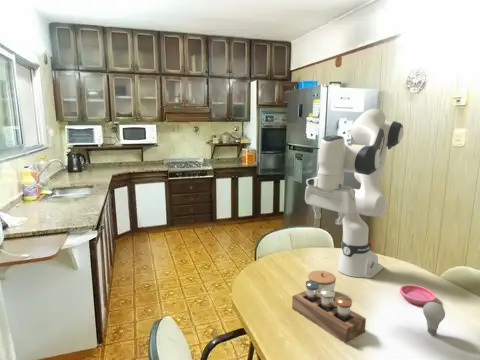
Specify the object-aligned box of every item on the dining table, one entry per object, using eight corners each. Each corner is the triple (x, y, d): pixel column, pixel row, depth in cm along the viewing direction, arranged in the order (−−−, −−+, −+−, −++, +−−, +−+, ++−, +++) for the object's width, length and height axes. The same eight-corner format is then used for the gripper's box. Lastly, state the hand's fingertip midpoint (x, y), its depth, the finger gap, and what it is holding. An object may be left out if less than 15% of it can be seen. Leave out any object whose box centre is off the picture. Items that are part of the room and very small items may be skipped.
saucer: (434, 295, 128) (434, 288, 128) (436, 311, 117) (436, 303, 117) (399, 288, 134) (400, 281, 133) (398, 303, 123) (399, 295, 123)
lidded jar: (302, 292, 131) (302, 271, 129) (319, 285, 137) (319, 264, 136) (323, 304, 122) (324, 281, 121) (340, 295, 129) (341, 273, 127)
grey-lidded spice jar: (311, 294, 121) (312, 279, 120) (321, 300, 117) (321, 284, 116) (302, 298, 118) (302, 282, 117) (312, 304, 114) (312, 288, 113)
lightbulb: (416, 329, 107) (419, 298, 105) (434, 327, 108) (437, 297, 106) (429, 341, 101) (432, 309, 99) (447, 339, 102) (450, 308, 100)
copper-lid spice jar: (342, 311, 109) (342, 295, 108) (353, 318, 105) (354, 301, 104) (332, 316, 107) (333, 299, 106) (344, 323, 103) (345, 305, 102)
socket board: (310, 300, 125) (311, 288, 124) (364, 332, 105) (365, 318, 105) (292, 308, 120) (292, 296, 119) (345, 343, 100) (346, 329, 99)
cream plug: (326, 302, 115) (326, 286, 114) (336, 308, 111) (337, 292, 110) (316, 306, 112) (317, 290, 111) (327, 313, 108) (328, 296, 107)
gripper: (361, 186, 104) (358, 227, 106) (314, 178, 121) (313, 213, 123) (349, 187, 101) (346, 230, 103) (302, 179, 118) (301, 215, 120)
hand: (327, 221), depth 113 cm, fingers open, 8 cm apart
